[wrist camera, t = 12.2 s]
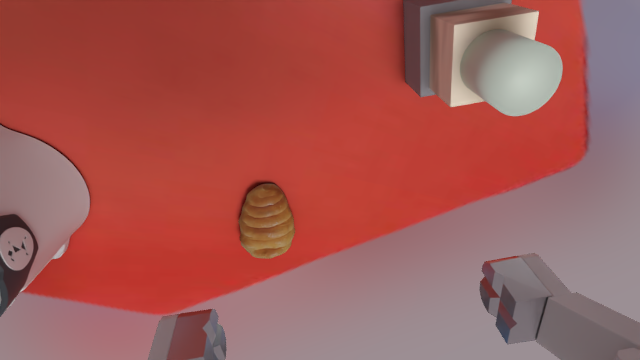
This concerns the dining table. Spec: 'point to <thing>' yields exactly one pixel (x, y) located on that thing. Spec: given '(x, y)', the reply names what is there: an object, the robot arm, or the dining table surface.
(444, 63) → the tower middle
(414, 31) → the tower base
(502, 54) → the grey round cylinder
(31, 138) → the robot arm
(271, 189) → the pastry
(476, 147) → the dining table surface
